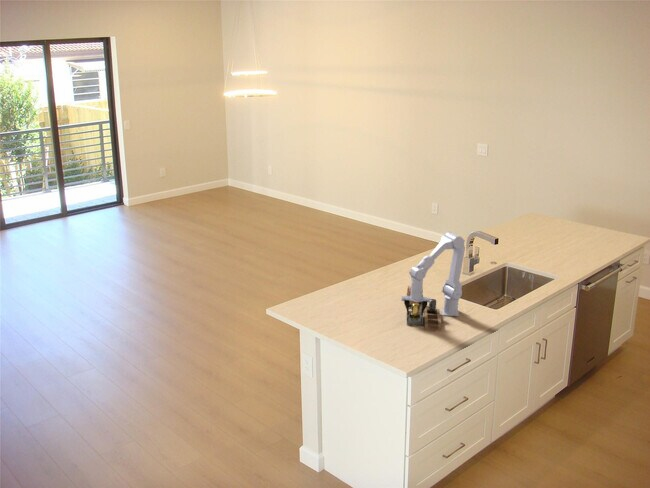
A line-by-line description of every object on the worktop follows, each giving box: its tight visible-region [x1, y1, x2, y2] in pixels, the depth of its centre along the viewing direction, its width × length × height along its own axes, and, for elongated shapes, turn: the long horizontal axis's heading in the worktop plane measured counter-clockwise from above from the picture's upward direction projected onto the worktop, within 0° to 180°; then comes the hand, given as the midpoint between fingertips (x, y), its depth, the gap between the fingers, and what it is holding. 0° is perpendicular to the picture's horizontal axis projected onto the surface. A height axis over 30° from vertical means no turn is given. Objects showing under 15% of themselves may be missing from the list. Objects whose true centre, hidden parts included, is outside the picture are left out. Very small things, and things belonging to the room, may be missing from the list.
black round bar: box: [428, 298, 437, 314], centre depth 371 cm, size 4×4×9 cm
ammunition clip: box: [404, 285, 424, 308], centre depth 384 cm, size 11×2×12 cm, turn 121°
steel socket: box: [406, 310, 424, 327], centre depth 367 cm, size 12×8×2 cm, turn 174°
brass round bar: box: [411, 303, 420, 318], centre depth 366 cm, size 4×4×9 cm
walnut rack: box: [423, 307, 442, 332], centre depth 366 cm, size 21×8×2 cm, turn 174°
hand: (414, 314), depth 366 cm, fingers open, 6 cm apart
